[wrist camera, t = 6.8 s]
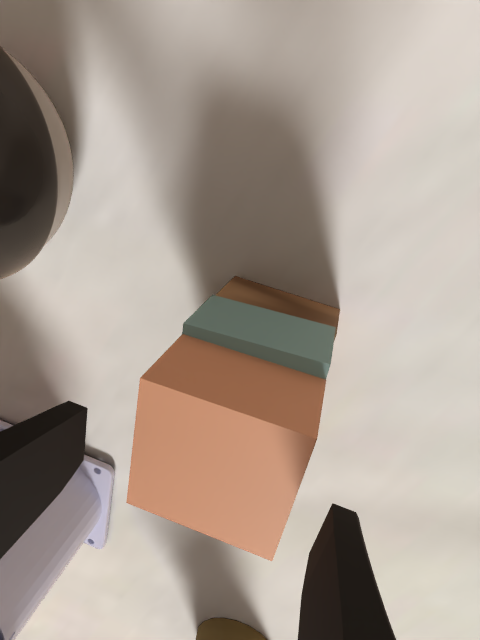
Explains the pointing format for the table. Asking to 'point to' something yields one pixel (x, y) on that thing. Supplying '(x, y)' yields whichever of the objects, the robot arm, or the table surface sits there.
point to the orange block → (223, 442)
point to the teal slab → (264, 334)
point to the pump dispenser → (29, 167)
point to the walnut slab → (279, 301)
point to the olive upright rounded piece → (226, 630)
